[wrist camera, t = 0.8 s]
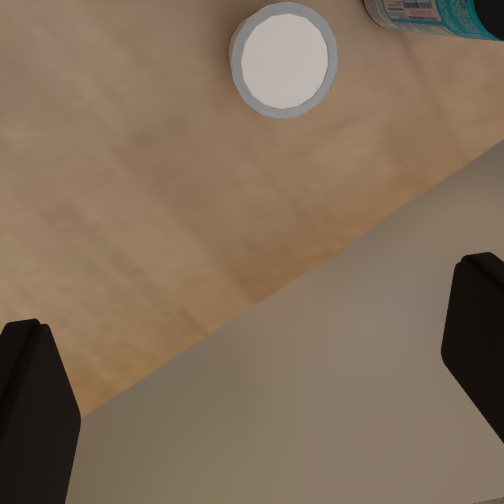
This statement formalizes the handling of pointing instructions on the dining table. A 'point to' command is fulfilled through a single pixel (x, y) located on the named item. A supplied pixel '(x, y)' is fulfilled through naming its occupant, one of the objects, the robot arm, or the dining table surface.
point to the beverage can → (441, 17)
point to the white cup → (283, 59)
